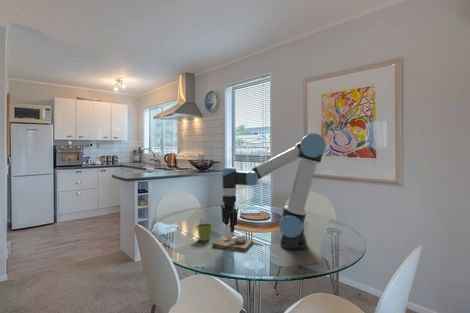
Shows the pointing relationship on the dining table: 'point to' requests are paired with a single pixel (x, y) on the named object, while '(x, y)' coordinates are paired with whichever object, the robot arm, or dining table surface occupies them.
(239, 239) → the peg
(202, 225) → the plant pot
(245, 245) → the board
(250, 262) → the dining table surface
